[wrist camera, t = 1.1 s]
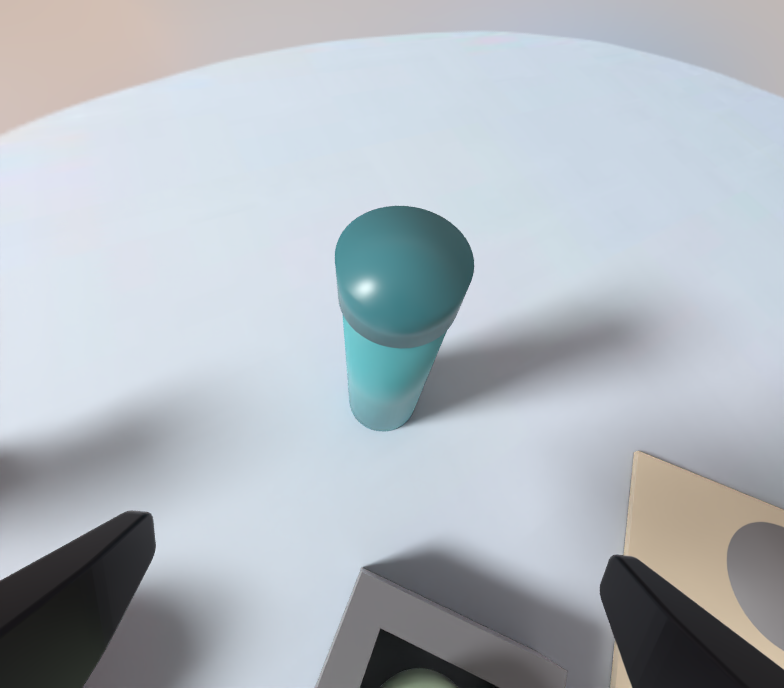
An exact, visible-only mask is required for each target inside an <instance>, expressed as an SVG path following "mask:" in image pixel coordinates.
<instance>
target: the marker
mask: <svg viewBox="0 0 784 688" xmlns="http://www.w3.org/2000/svg"><path fill="white" fill-rule="evenodd" d="M335 266H336V277H337V288H338V299H339V305H340V308H341V311H342V313H343V325H344V338H345V351H346V363H347V376H348V389H349V402H350V407H351V410H352V413H353V414H354V416H355V418H356V419H357V420H358V421H359V422H360V423H361V424H362V425H364V426H365V427H367V428H369V429H372V430H376V431H390V430H394V429H396V428H399V427H400V426H402V425H403V424H404V423H406V422H407V421H408V419H409V418H410V417H411V415H412V413H413V411H414V409H415V406H416V404H417V401H418V399H419V397H420V394H421V392H422V389H423V387H424V385H425V382H426V380H427V377H428V375H429V372H430V370H431V368H432V365H433V363H434V360H435V358H436V356H437V353H438V351H439V348H440V346H441V344H442V341H443V339H444V336H445V334H446V332H447V330H448V329H449V328H450V326H451V325H452V323H453V321H454V319H455V317H456V315H457V313H458V311H459V308H460V306H461V304H462V301H463V299H464V297H465V294H466V292H467V290H468V287H469V285H470V283H471V280H472V277H473V272H474V258H473V253H472V250H471V248H470V245H469V243H468V242H467V240H466V238H465V237H464V236H463V234H462V233H461V232H460V231H459V230H458V229H457V228H456V227H455V226H454V225H453V224H452V223H450V222H449V221H447V220H446V219H444V218H443V217H441V216H439V215H437V214H435V213H433V212H430V211H427V210H424V209H420V208H416V207H409V206H389V207H383V208H378V209H375V210H372V211H369V212H367V213H365V214H363V215H361V216H359V217H358V218H356V219H355V220H354V221H352V222H351V223H350V224H349V225H348V226H347V227H346V228H345V230H344V231H343V232H342V234H341V236H340V238H339V239H338V242H337V245H336V250H335Z"/></svg>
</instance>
